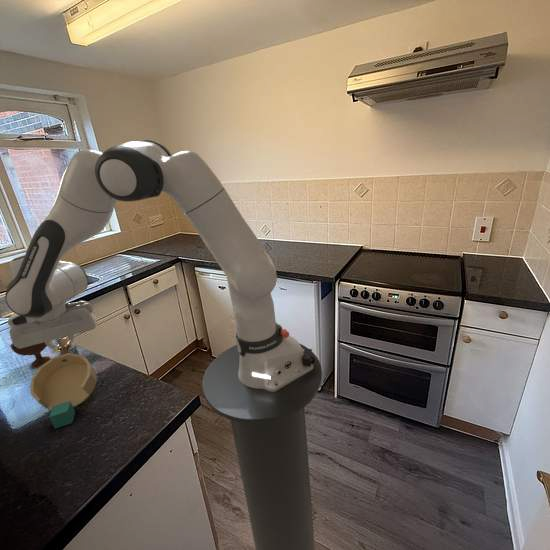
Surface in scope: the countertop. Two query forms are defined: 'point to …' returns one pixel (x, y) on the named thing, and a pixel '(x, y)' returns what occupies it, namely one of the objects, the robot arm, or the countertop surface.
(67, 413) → the block
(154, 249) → the countertop surface
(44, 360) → the ice cream bowl
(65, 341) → the tan scoop with handle
